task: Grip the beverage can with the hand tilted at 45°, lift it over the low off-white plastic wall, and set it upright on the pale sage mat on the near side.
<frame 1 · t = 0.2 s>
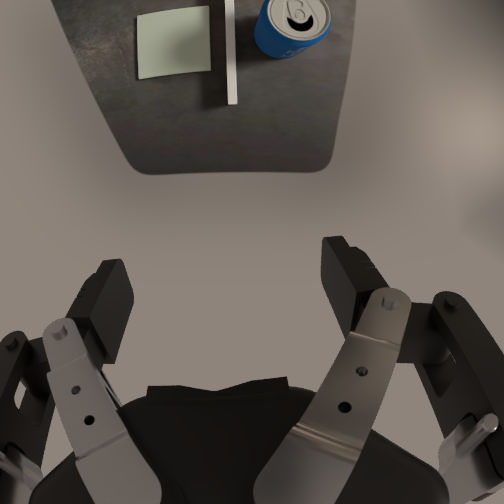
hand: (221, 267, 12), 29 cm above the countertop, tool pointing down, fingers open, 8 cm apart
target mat: (173, 41, 30), on the countertop
beverage can: (279, 36, 31), on the countertop
low wall: (230, 36, 30), on the countertop
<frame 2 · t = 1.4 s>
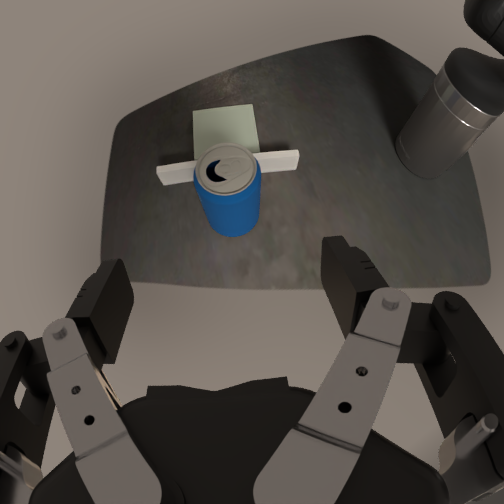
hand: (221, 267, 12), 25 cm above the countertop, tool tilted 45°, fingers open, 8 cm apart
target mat: (224, 132, 42), on the countertop
beverage can: (233, 214, 39), on the countertop
low wall: (229, 173, 40), on the countertop
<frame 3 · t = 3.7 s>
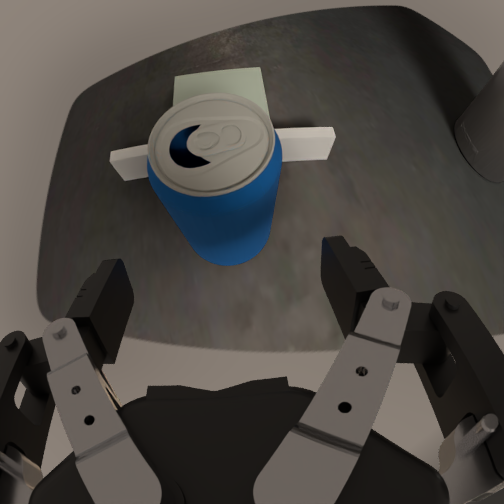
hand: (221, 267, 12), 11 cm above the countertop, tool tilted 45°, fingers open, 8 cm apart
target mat: (219, 103, 27), on the countertop
beverage can: (228, 228, 24), on the countertop
low wall: (223, 161, 26), on the countertop
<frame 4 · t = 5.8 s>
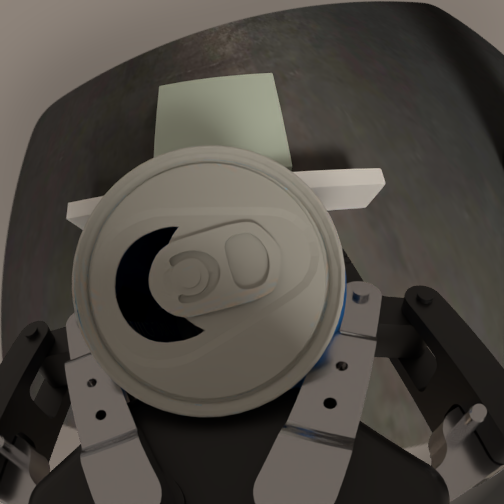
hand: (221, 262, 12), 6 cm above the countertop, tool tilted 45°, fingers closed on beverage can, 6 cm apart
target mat: (218, 123, 21), on the countertop
beverage can: (234, 311, 18), on the countertop, touching gripper
low wall: (225, 212, 19), on the countertop
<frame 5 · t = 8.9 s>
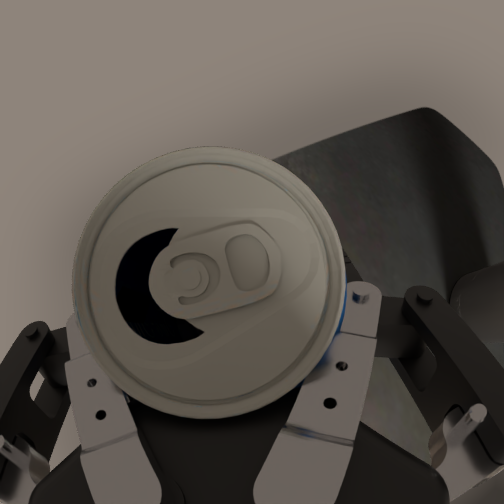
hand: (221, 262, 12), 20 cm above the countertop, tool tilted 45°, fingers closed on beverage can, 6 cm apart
beverage can: (234, 312, 18), point 14 cm above the countertop, touching gripper
when the fingers open (7 cm above the countertop, at t = 12.1 s): beverage can drops 1 cm, resting on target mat.
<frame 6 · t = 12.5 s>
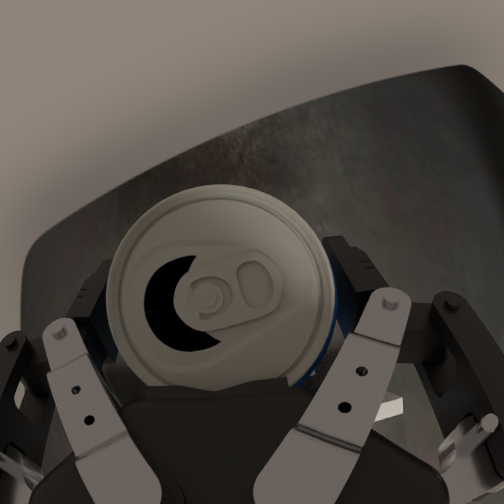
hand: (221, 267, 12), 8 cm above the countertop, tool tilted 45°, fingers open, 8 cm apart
beverage can: (238, 316, 19), resting on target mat
low wall: (247, 418, 18), on the countertop
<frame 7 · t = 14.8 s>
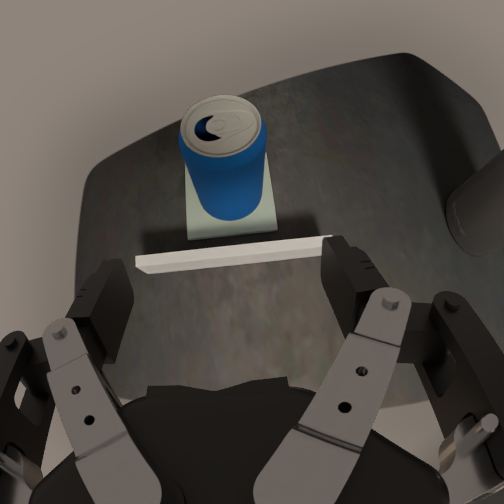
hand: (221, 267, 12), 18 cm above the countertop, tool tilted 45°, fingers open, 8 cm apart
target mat: (229, 195, 32), on the countertop
beverage can: (230, 195, 32), resting on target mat
low wall: (235, 259, 30), on the countertop
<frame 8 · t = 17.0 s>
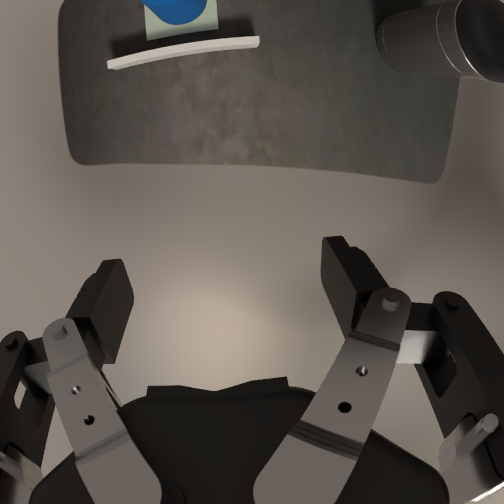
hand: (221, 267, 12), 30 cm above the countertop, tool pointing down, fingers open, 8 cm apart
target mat: (180, 4, 28), on the countertop
beverage can: (181, 4, 28), resting on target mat
low wall: (184, 51, 31), on the countertop
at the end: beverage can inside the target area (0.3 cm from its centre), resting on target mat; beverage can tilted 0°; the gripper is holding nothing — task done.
